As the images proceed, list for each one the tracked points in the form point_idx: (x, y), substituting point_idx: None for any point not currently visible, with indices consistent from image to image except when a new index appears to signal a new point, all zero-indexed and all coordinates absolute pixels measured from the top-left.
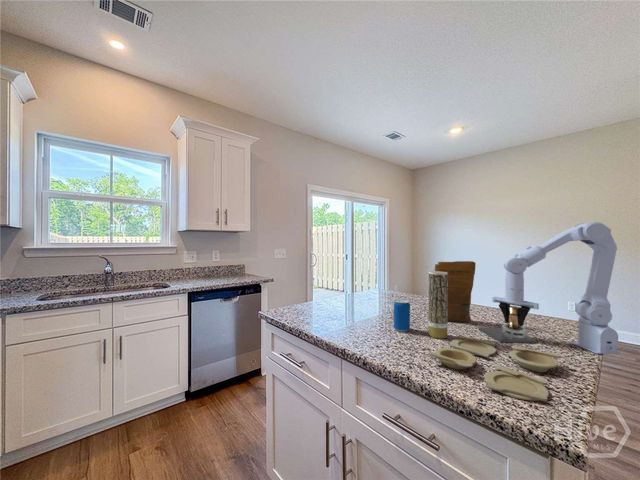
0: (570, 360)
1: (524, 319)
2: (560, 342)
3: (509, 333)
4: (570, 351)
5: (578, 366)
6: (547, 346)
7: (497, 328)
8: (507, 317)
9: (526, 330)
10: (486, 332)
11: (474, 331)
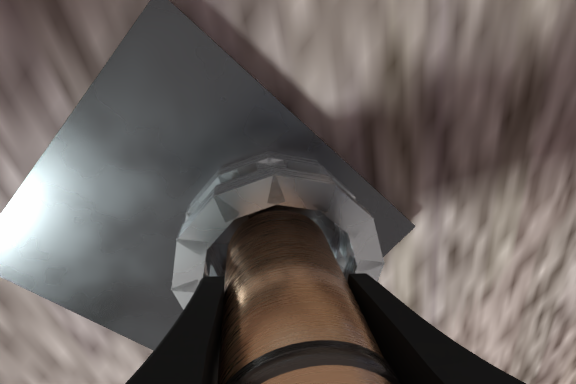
0: (531, 343)
1: (411, 320)
2: (555, 50)
3: (234, 220)
4: (565, 214)
5: (543, 379)
6: (462, 228)
7: (95, 148)
8: (216, 373)
9: (380, 264)
10: (98, 319)
11: (4, 312)
